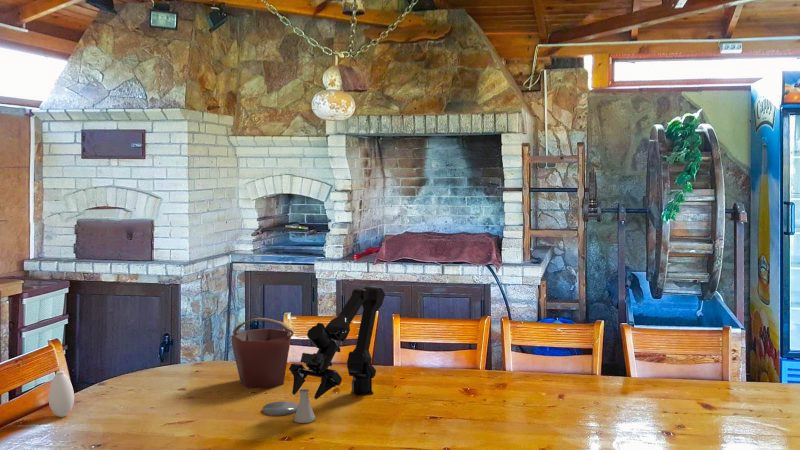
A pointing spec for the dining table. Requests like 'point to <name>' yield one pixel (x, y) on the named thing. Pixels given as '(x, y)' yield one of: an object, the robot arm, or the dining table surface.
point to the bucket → (262, 354)
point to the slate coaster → (280, 408)
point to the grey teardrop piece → (61, 394)
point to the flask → (304, 409)
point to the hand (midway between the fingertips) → (304, 396)
